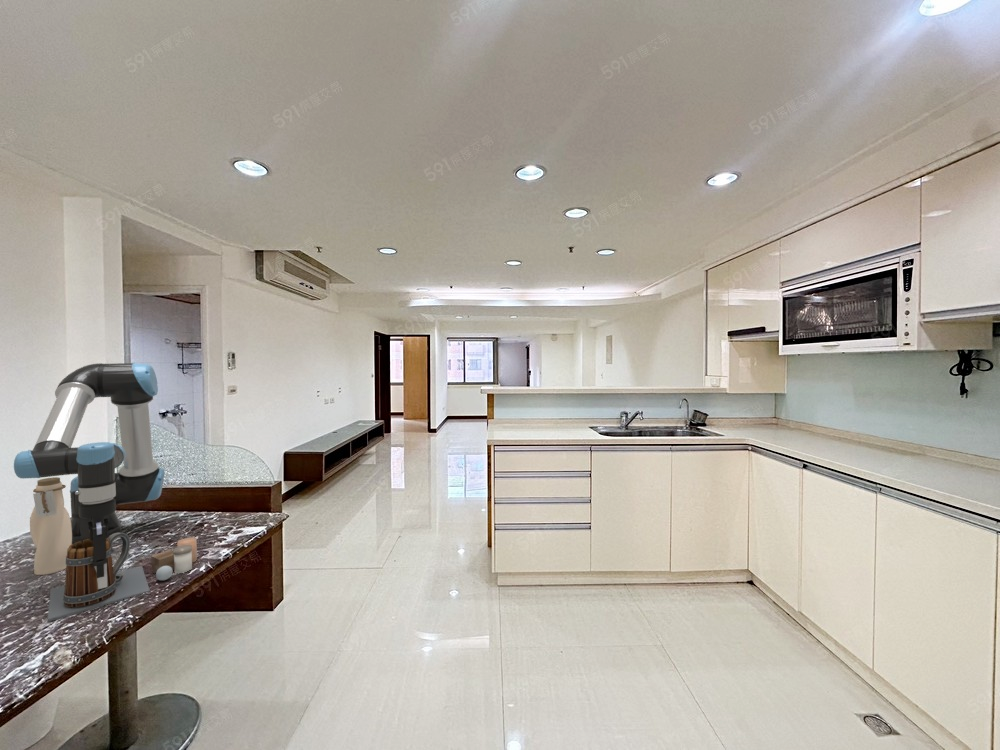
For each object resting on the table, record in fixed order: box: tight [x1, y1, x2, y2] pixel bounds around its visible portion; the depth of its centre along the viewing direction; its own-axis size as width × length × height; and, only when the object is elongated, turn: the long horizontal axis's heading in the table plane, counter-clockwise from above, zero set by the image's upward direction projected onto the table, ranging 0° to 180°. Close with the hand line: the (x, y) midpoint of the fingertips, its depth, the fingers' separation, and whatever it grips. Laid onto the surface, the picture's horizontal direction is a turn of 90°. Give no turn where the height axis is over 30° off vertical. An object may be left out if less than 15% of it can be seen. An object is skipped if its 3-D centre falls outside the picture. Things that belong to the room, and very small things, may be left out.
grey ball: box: [155, 566, 174, 582], centre depth 131 cm, size 4×4×4 cm
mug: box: [63, 532, 131, 608], centre depth 122 cm, size 16×11×15 cm
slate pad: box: [47, 565, 151, 623], centre depth 124 cm, size 20×20×1 cm
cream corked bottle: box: [29, 476, 72, 576], centre depth 136 cm, size 10×9×28 cm
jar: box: [172, 545, 193, 574], centre depth 137 cm, size 5×5×7 cm
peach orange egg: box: [176, 536, 198, 563], centre depth 142 cm, size 5×5×7 cm
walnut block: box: [150, 549, 174, 574], centre depth 137 cm, size 5×5×5 cm
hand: (99, 581), depth 122 cm, fingers closed on mug, 9 cm apart
